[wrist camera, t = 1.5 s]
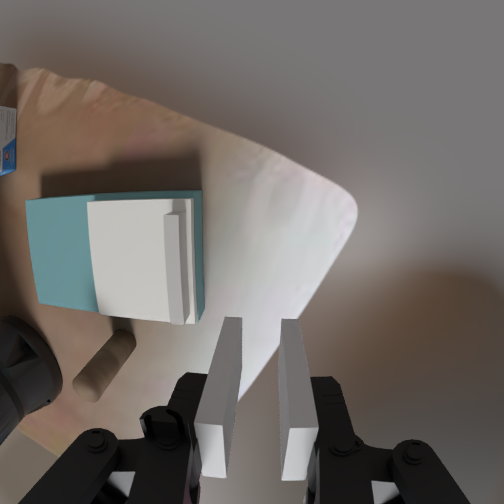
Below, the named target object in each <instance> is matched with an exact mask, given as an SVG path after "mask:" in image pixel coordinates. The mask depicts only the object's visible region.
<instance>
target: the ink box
mask: <svg viewBox="0 0 504 504" xmlns="http://www.w3.org/2000/svg"><path fill="white" fill-rule="evenodd" d="M16 114H17V109H15V108H9V107H4V106H0V176H3V175H5V174H8V173H11V172H13V171H15V170H16V152H15V140H16V139H15V137H16Z"/></svg>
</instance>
